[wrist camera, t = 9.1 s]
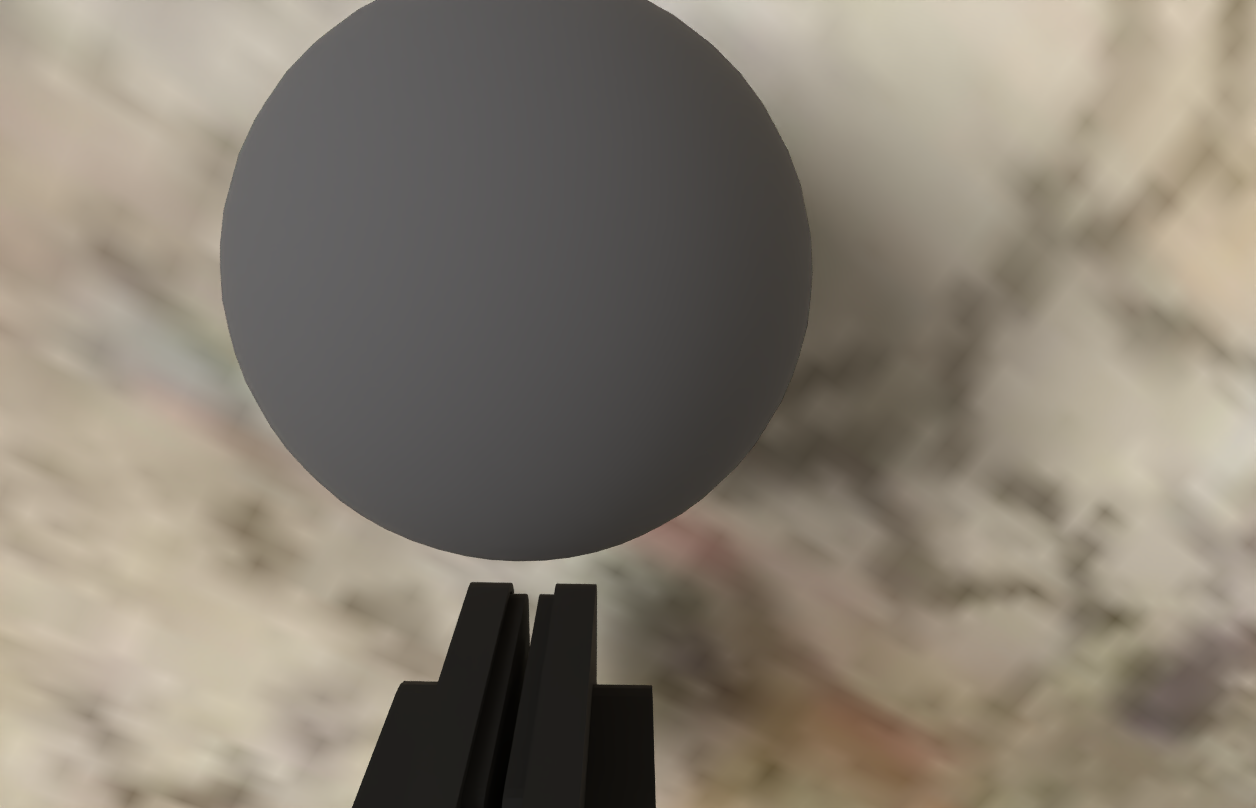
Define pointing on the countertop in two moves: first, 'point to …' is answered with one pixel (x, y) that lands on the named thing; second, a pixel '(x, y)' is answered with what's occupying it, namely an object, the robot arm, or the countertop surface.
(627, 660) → the countertop surface
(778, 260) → the dark gray ball
